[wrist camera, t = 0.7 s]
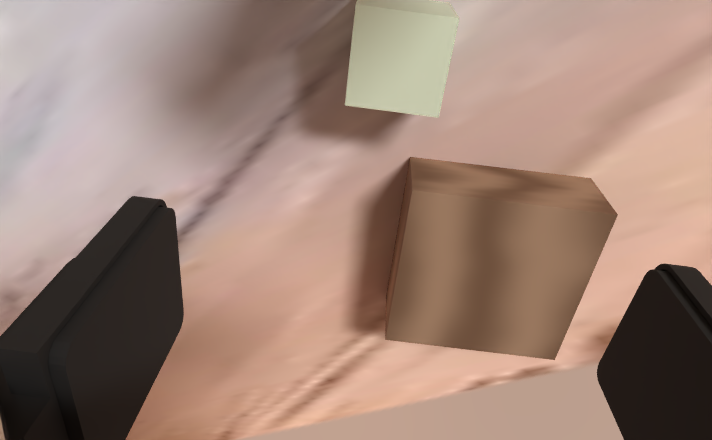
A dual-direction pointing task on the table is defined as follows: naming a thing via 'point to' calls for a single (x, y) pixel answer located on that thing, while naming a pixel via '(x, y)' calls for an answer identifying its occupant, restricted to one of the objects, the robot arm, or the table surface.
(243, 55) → the table surface
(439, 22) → the cream cube
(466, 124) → the table surface
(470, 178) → the walnut block
